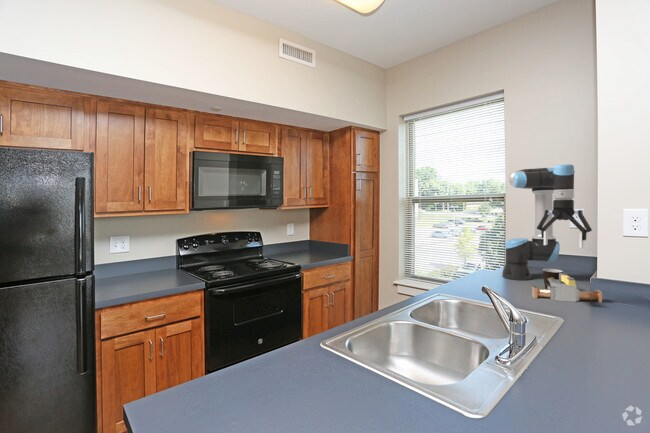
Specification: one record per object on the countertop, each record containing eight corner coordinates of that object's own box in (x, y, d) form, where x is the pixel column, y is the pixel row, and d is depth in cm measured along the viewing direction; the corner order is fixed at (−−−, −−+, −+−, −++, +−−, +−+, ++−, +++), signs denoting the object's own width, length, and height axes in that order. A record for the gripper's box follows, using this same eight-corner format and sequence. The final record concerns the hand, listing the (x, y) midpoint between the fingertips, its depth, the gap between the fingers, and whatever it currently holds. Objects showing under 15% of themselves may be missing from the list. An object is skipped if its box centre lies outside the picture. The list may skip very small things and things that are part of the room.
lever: (558, 280, 158) (558, 272, 158) (565, 280, 157) (566, 272, 157) (567, 287, 146) (567, 278, 146) (576, 287, 145) (576, 279, 145)
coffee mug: (538, 288, 174) (538, 269, 173) (548, 286, 177) (549, 268, 177) (562, 294, 163) (562, 274, 163) (572, 291, 167) (573, 272, 166)
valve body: (531, 294, 164) (531, 278, 164) (595, 298, 155) (596, 281, 155) (535, 299, 157) (535, 282, 157) (603, 303, 148) (603, 285, 148)
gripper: (529, 199, 156) (529, 244, 157) (596, 199, 137) (595, 250, 138) (535, 199, 161) (535, 242, 162) (600, 198, 141) (600, 248, 142)
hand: (562, 246), depth 150 cm, fingers open, 13 cm apart
